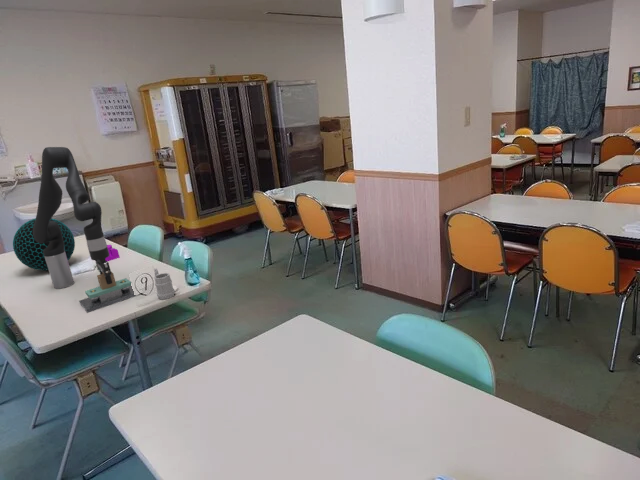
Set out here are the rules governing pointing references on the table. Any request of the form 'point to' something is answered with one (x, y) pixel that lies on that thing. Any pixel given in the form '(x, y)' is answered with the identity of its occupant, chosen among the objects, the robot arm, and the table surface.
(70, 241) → the decorative sphere
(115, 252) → the tape dispenser
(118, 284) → the board
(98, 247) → the robot arm
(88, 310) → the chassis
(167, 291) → the mug
